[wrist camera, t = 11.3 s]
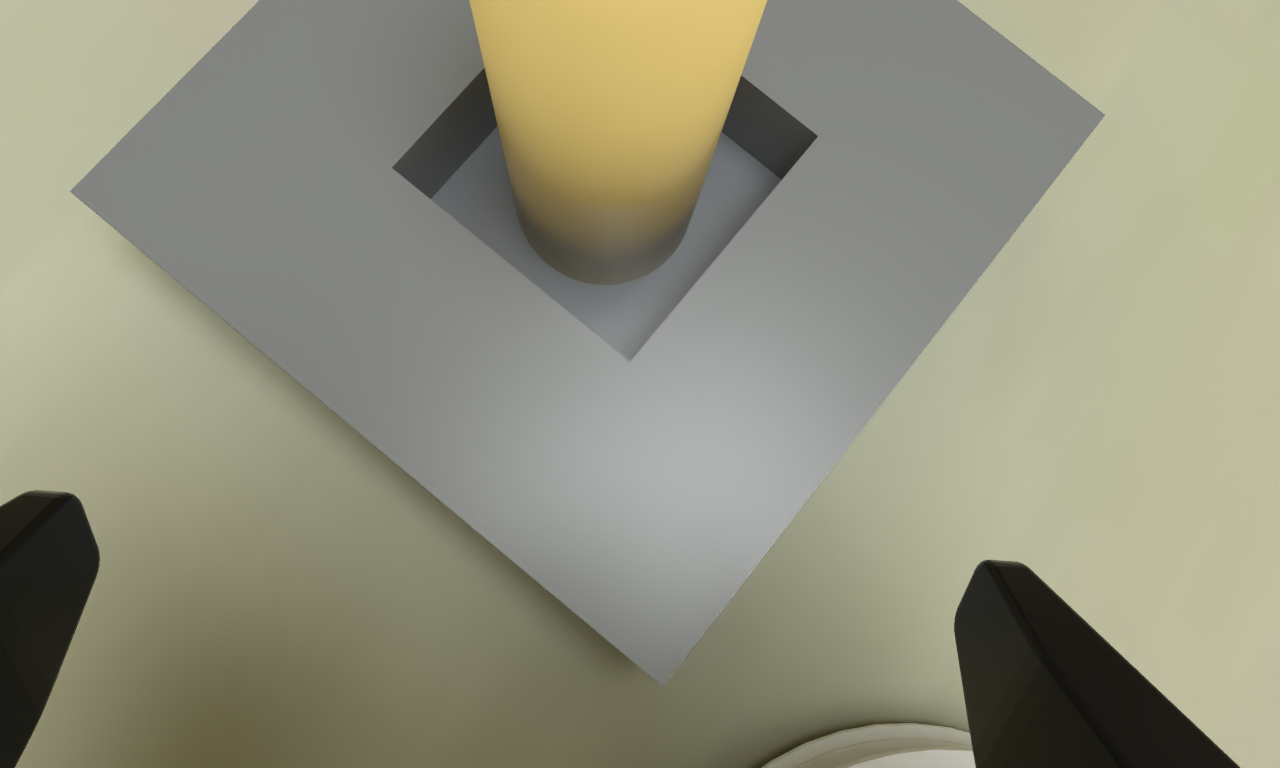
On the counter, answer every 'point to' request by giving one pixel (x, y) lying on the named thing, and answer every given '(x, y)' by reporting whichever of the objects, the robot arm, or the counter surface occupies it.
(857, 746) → the lid
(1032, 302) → the counter surface
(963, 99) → the socket block
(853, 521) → the counter surface
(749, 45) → the plug
